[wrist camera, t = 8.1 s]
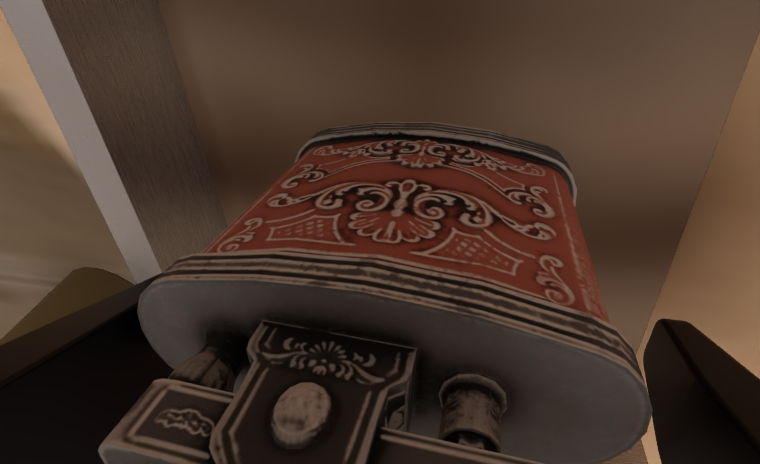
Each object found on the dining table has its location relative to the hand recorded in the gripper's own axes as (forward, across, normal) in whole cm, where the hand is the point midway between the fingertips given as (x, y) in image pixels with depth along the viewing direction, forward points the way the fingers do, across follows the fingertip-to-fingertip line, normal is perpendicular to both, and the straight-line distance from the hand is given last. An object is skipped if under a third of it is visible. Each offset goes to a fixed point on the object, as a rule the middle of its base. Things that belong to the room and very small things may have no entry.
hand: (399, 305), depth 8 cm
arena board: (+6, +1, +1) cm, 6 cm away
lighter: (+6, 0, 0) cm, 6 cm away
